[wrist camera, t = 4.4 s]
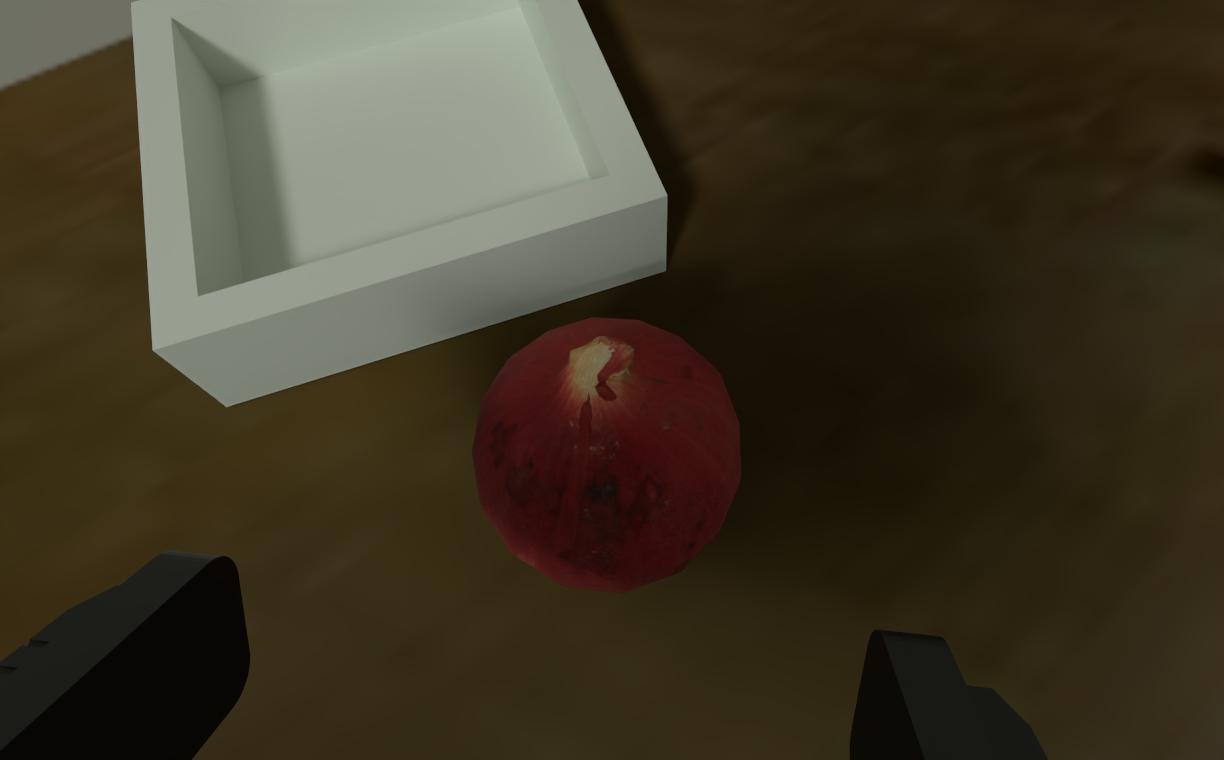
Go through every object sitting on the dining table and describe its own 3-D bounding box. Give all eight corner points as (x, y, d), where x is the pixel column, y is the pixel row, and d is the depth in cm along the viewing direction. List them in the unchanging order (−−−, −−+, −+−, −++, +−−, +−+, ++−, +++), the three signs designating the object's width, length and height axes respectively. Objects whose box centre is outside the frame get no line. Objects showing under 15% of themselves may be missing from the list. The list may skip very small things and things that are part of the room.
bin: (544, -8, 28) (530, -101, 25) (666, 271, 23) (667, 195, 20) (191, 87, 27) (131, 2, 24) (226, 407, 22) (152, 350, 18)
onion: (722, 625, 18) (766, 551, 11) (490, 605, 19) (387, 523, 12) (728, 406, 21) (767, 229, 13) (523, 393, 21) (455, 217, 14)
